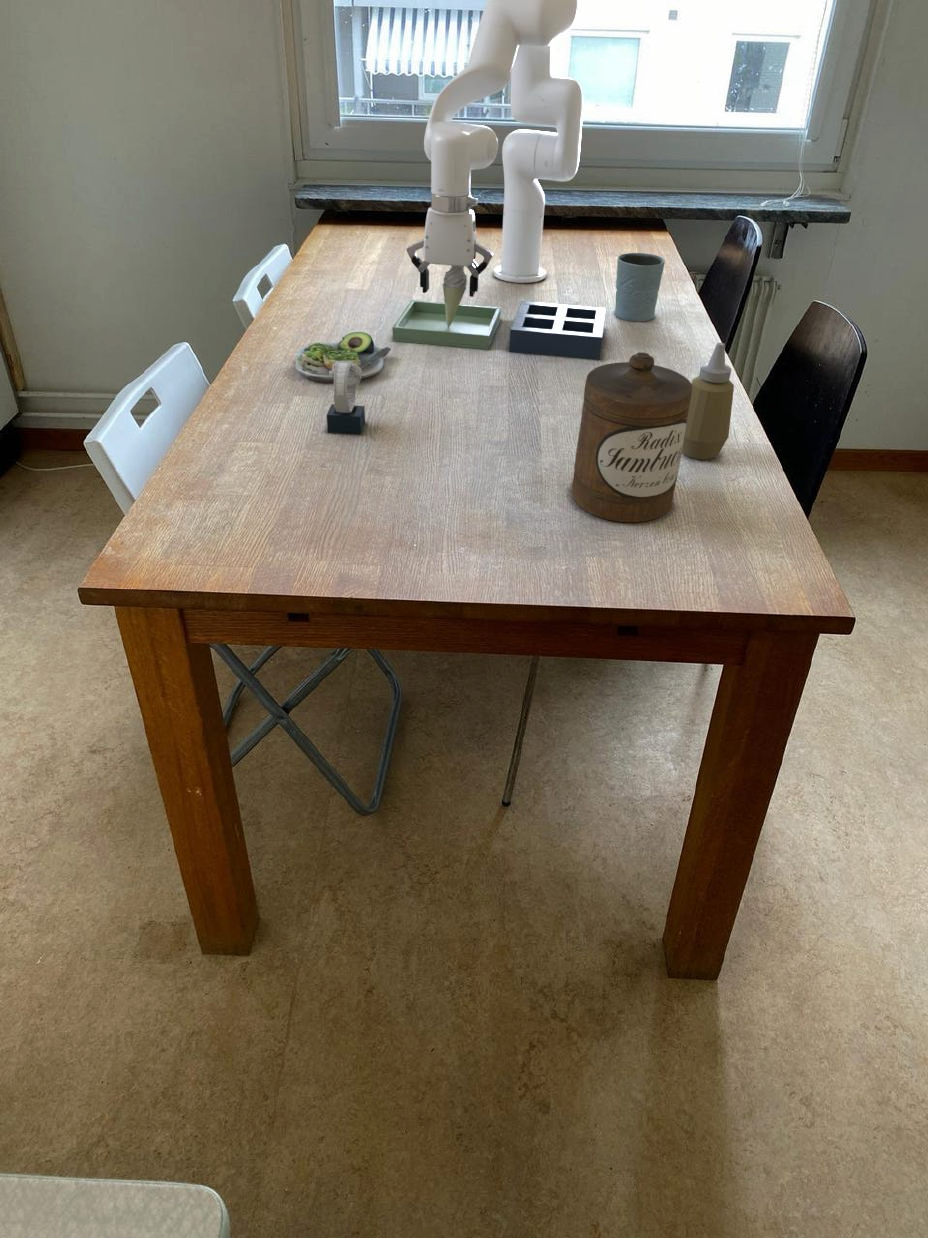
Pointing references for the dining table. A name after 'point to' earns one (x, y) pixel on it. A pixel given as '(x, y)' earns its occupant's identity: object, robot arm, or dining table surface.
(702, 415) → the squeeze bottle
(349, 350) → the avocado toast plate
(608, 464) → the wooden container
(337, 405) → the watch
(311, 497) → the dining table surface
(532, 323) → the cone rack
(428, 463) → the dining table surface
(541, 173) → the robot arm
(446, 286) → the ice cream cone
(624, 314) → the blue ceramic cup
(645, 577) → the dining table surface
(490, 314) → the shallow green box
